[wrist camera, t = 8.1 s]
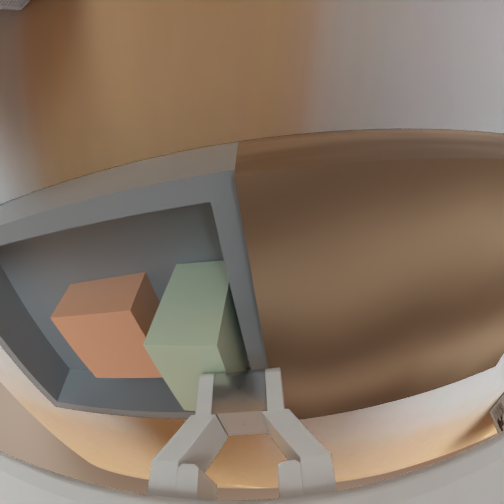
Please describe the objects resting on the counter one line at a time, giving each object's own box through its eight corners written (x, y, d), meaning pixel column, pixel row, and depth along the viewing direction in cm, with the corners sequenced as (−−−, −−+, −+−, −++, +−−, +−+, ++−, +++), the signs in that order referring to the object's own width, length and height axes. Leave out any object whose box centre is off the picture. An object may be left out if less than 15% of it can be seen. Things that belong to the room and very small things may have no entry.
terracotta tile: (130, 310, 11) (145, 271, 13) (50, 317, 12) (70, 283, 14) (170, 377, 14) (177, 339, 16) (96, 377, 14) (108, 343, 16)
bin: (-23, 214, 12) (-60, 247, 9) (238, 141, 11) (234, 169, 8) (70, 369, 19) (55, 406, 16) (274, 364, 18) (278, 414, 15)
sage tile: (233, 259, 13) (176, 264, 13) (216, 345, 9) (143, 345, 9) (249, 333, 15) (201, 334, 15) (241, 412, 11) (184, 410, 12)
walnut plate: (238, 141, 11) (234, 176, 8) (518, 135, 10) (573, 164, 7) (274, 364, 18) (278, 421, 14) (470, 323, 17) (495, 365, 14)
